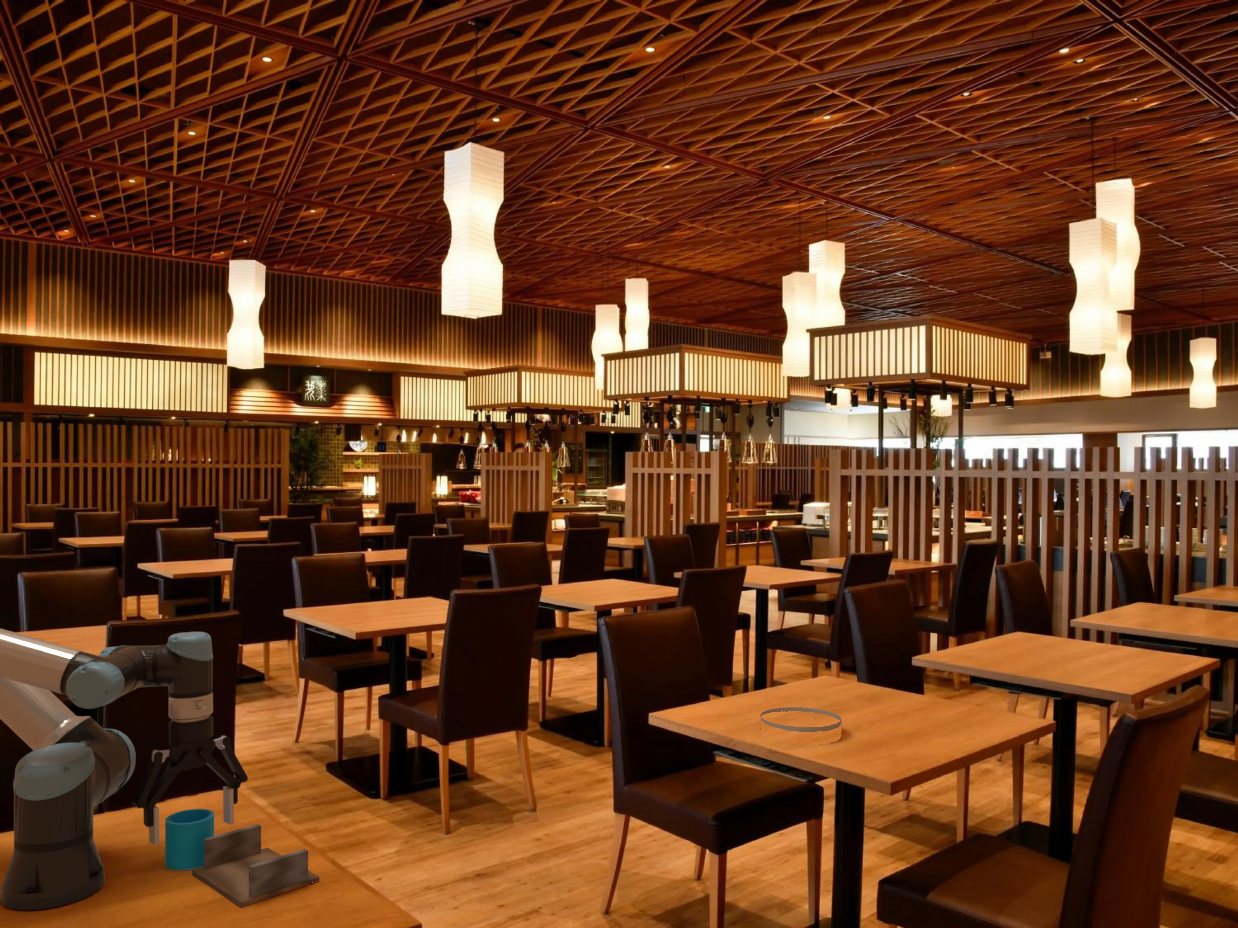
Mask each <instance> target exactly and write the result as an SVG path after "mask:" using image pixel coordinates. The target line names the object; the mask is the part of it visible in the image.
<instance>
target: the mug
mask: <svg viewBox="0 0 1238 928" xmlns="http://www.w3.org/2000/svg"><path fill="white" fill-rule="evenodd" d="M164 822H165V823H164V825H165V826H164V827H165V830H164V833H165V835H164V865H165V868H166V869H169V870H172V871H188V870H189V871H190V870H193V869H196V868H200V867H203V866H204V839H205V838H208V837H212V836H215V812H214V811H212V810H211V809H206V808H191V809H185V810H181V811H176V812H174V813H171V814H170V815H167V816H166V818H165V819H164Z"/></svg>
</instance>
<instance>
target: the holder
mask: <svg viewBox="0 0 1238 928" xmlns="http://www.w3.org/2000/svg"><path fill="white" fill-rule="evenodd" d="M191 875H192V876H194V877H195V878H197V879H198V880H200V881H201V882H203V883H204V884H205V885H207V886H208V887H210V888H212V889H213V890H215V892H218V894H220V895H222V896H224V897H225V898H226V899H228V900H230V901H231V902H232V903H234V904H235V905H236V906H238V907H240V908H244V907H246V906H249V905H253V904H256V903H259V902H262V901H265V900H268V899H271V898H273V897H277V896H280V895H283V894H286V893H288V892H287V891H289V892H292V891H294V890H293V889H295V890H297V889H296V888H298V889H300V888H299V887H301V886H304V887H306V886H305V885H307V884H310V883H312V882H316V881H319V880H321V879H320V876H319V875H317V874H315V873H313V872H312V871H311V870H309V850H308V849H306V848H302V849H299V850H296V851H293V852H289V853H286V854H283V855H282V854H280V853H278V852H276V851H274V850H273V849H271V848H269V847H264V848H262V825H261V824H259V823H256V824H253V825H248V826H246V827H241V828H238V829H234V830H230V831H228V832H223V833H220V834H216V835H214V836H212V837H208V838H205V839H204V866H202V867H199V868H195V869H191ZM319 882H320V881H319ZM316 883H317V882H316ZM310 885H311V884H310ZM307 886H308V885H307ZM301 888H302V887H301ZM291 890H292V891H291ZM285 892H286V893H285ZM282 893H283V894H282ZM279 894H280V895H279ZM276 895H277V896H276Z"/></svg>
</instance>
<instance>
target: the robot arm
mask: <svg viewBox="0 0 1238 928" xmlns="http://www.w3.org/2000/svg"><path fill="white" fill-rule="evenodd" d="M212 645H213V644H212V637H211V635H210V634H209V633H208V632H204V631H189V632H188V631H187V632H178V633H173V634H172V635H170V636H169V637H168V638H167V643H166V644H158V645H127V644H124V645H119V646H118V645H117V646H108V647H105V648H103V649H102V650H101V651H100V653H99V654H98V655H96V654H93V653H89V652H86V651H82V650H79V649H77V648H76V649H75V648H72V647H68V646H64V645H61V644H58V643H55V642H51V641H47V640H43V639H39V638H36V637H32V636H30V635H29V636H28V635H25V634H21V633H18V632H14V631H11V630H7V629H4V628H0V720H1V721H2V722H3V724H5V725H6V726H7V727H9V728H10V730H11V731H13V733H14V734H16V735H17V736H18V738H20V739H21V740H22V741H23V742H24V743H25V744H26V745H27V746H28V747H29V748H31V750H32V751H30V752H29V753H27V754H26V755H24V756H22V758H21V759H19V760H18V762H17V764H16V765H15V770H14V779H13V780H12V781H13V782H12V787H13V788H12V789H13V853H12V856H11V859H10V862H9V865H8V868H7V870H6V872H5V875H4V877H3V878H4V879H3V881H2V884H1V888H0V890H1V892H0V895H1V896H0V902H1V904H2V905H3V906H4V907H6V908H9V909H12V910H17V911H18V910H19V911H36V910H46V909H52V908H57V907H61V906H66V905H70V904H72V903H75V902H78V901H81V900H83V899H85V898H88V897H90V896H92V895H93V894H95V893H97V892H98V891H99V890H101V888H102V887H103V886H104V885H105V867H104V864H103V860H102V858H101V856H100V853H99V851H98V850H99V849H98V848H97V845H96V842H95V840H94V808H95V807H97V806H98V805H100V804H101V803H102V802H103V801H105V800H106V799H107V798H109V797H111V796H114V795H115V794H116V793H118V792H119V790H120V789H121V788H123V787H124V785H125V784H126V783H127V782H128V781H129V780H130V779H131V777H132V775H133V773H134V771H135V767H136V760H137V759H136V758H137V753H136V750H135V746H134V744H133V742H132V741H131V739H130V738H129V737H128V735H126V734H125V733H123V732H122V731H120V730H118V729H114V728H103V727H102V726H101V725H100V724H99V723H98V722H97V721H96V720H95V719H94V718H92V717H91V716H90V715H86V716H85V715H84V716H79V715H76V714H75V713H74V712H73V711H72V710H70V708H69V707H68V706H67V705H65V704H64V702H62V701H61V700H60V699H59V698H58V697H57V696H56V695H55V694H54V693H56V694H61V695H65V696H67V697H68V699H69V701H71V702H72V703H73V704H74V705H75V706H77V707H78V708H81V709H88V710H93V709H97V708H100V707H105V706H107V705H109V704H112V703H113V702H115V701H116V700H117V699H119V698H121V697H122V696H124V695H126V694H129V693H130V692H133V691H134V690H136V689H138V688H152V687H153V688H154V687H167V689H168V690H167V691H168V695H167V696H168V717H169V719H170V721H169V722H168V742H169V744H168V748H167V749H163V750H157V749H152V750H151V752H150V757H149V763H148V765H147V768H146V769H145V772H144V775H143V776H142V779H141V782H139V786H137V790H136V792H135V794H134V796H133V798H132V801H131V805H132V806H134V807H136V808H137V809H143V825H144V826H145V827H147V828H148V842H149V843H150V844H152V845H153V846H159V845H160V808H159V807H158V806H157V804H158V802H159V801H160V799H161V798H162V797H163V795H164V794H165V792H166V791H167V790H168V788H170V787H169V786H170V785H171V783H172V782H174V779H175V778H176V777H177V776H178V775H179V774H180V773H181V772H182V770H183V771H190V770H192V769H193V768H194V769H197V768H198V769H199V768H202V767H203V766H204V765H206V766H207V767H208V768H210V770H211V771H213V772H214V774H216V775H217V776H218V777H219V778H220V779H221V780H222V781H223V782H225V784H227V786H223V787H222V799H223V800H222V803H223V806H222V807H223V810H222V811H223V813H222V814H223V816H222V818H223V822H224V823H226V824H228V825H234V823H235V819H234V818H235V815H234V811H235V810H234V805H237V804H238V802H239V793H238V792H239V788H240V787H241V784H242V783H246V782H247V781H248V779H249V777H248V775H247V773H246V772H245V769H244V768H243V766H242V765H241V762H240V761H239V759H238V757H237V755H236V753H235V752H234V750H233V748H232V742H231V738H230V737H228V736H226V735H223V734H221V735H219V737H218V738H215V739H214V717H213V716H212V715H211V714H213V712H214V691H213V689H214V688H213V682H214V681H213V673H214V672H213V662H214V660H213V659H214V654H213V646H212ZM215 748H217V749H218V750H220V752H221V753H222V756H223V757H224V759H225V761H226V762H227V764H228V766H229V768H230V769H231V772H232V773H233V775H234V776H232V774H230V773H229V771H227V769H225V768H224V767H223V766H222V765H221V764H220V763H219V762H218V761H217V760H216V758H214V757H213V756H212V753H213V751H214V750H215ZM167 758H168V759H169V760H170V761H169V762H168V764H167V765H166V767H165V770H164V772H163V773H162V774H161V775H160V777H159V779H158V780H157V781H156V779H157V777H158V775H159V772H160V771H161V768H162V765H163V763H164V762H165V761H166V759H167ZM154 783H155V784H154Z"/></svg>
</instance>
